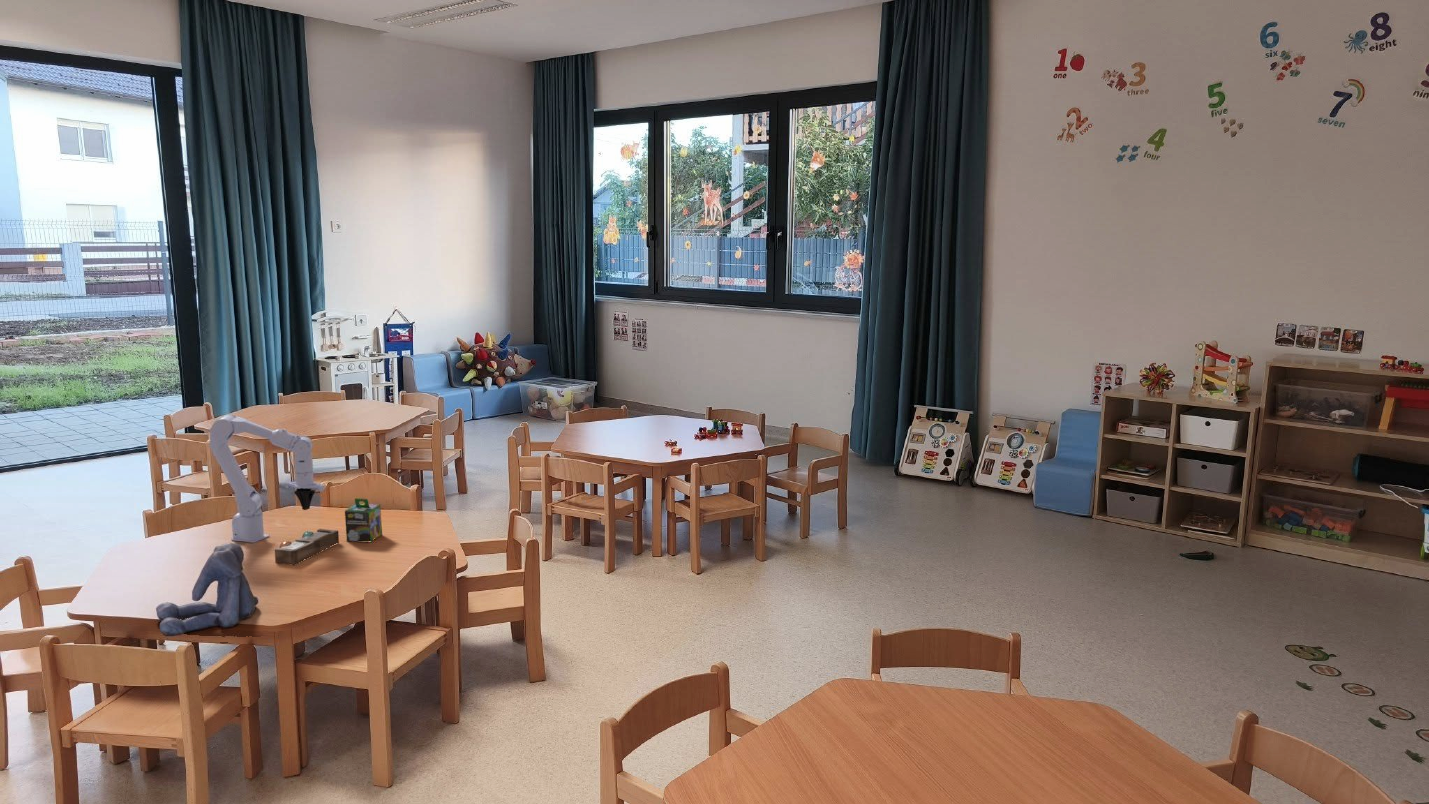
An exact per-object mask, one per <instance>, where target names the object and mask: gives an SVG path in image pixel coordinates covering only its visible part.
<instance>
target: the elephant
mask: <svg viewBox="0 0 1429 804" xmlns="http://www.w3.org/2000/svg"><path fill="white" fill-rule="evenodd" d="M244 557H245V555H244V550H243V548H242V546H241V545H240V544H237V543H233V542H228V543H227V542H226V543H223V544H221V545H216V546H215V547H214V549H213V552H212V553H211V554H210V555H209V557H208V558H207V560H206V562H205V564H204V566H203V568H202V569H201V571H200V573H199V575H198V578H197V579H196V582H195V584H194V586H193V588H192V590H191V600H192V601H194V602H191V603H190V602H189V603H185V604H182V605H177V604H175V603H173V602H164V603H163V602H162V603H160V604H158V605H157V606H156V607H155V610H156V611H155V612H156V616H157V619H159V621H160V623H159V631H160V632H161V634H162V635H163V636H164V637H174V636H175V637H176V636H182V635H184V634H186V633H190V632H194V631H200V630H203V629H207V628H212V627H221V628H224V629H226V628H227V629H228V628H233V627H235V626H236V625H239V622H240V621H242V620H246V619H247V618H249V617H251V616H252V615H253V614H254V612H255V608H256V606H257V605H259V598H258V597H257V596H255V595H254V593H253V591H252V589H251V586H250V584H249V581H248V579H247V577H246V576H245V573H244V572H243V570H244V567H243V562H244V559H245V558H244ZM214 582H217V585H216V586H217V590H216V593H217V594H216V596H217V597H216V601H215V603H210V602H205V601H202V602H201V600H202V599H203V597H204V596H205V595H206V593H207V590H208V589H209V587H210V586H211V584H212V583H214ZM185 618H188V619H185ZM180 619H183V620H180Z"/></svg>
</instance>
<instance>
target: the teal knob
mask: <svg viewBox="0 0 1429 804" xmlns="http://www.w3.org/2000/svg"><path fill="white" fill-rule="evenodd" d="M326 534H329V533H324V532H317V531H316V532H313V531H308V530H306V531H305V532H304V533H303V534H302V536H301V537H302V538H311V539H318V538H320V537H322V536H324V535H326Z"/></svg>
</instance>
